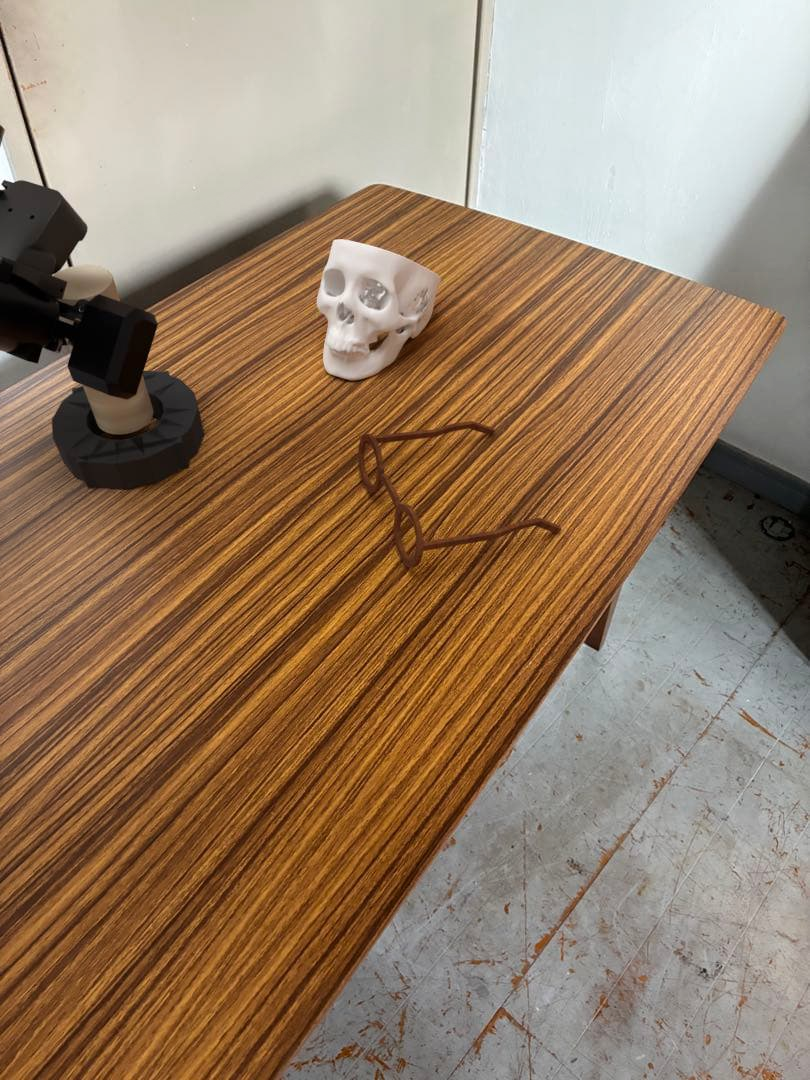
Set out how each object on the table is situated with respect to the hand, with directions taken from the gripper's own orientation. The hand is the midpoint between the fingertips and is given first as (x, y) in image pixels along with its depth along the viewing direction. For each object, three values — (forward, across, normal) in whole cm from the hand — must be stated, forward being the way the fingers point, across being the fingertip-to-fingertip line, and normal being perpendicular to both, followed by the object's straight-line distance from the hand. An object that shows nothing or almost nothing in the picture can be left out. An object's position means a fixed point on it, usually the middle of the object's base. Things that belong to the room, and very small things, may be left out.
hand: (115, 344), depth 66 cm
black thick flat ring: (+6, 0, +8) cm, 9 cm away
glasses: (+11, -28, +3) cm, 31 cm away
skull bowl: (+22, -11, -9) cm, 27 cm away
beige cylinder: (+4, 0, +6) cm, 7 cm away
